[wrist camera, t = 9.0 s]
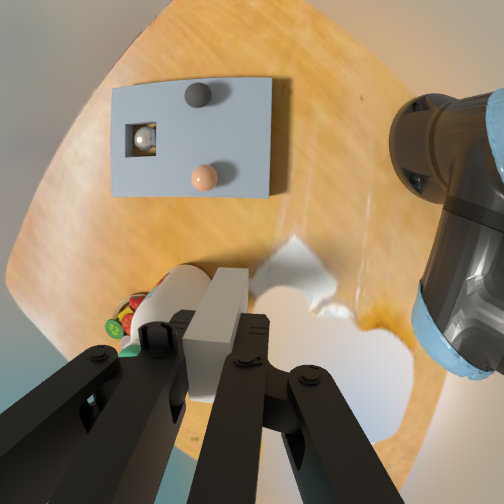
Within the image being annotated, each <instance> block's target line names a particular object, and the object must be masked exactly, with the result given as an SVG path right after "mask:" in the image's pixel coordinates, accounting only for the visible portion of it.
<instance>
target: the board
mask: <svg viewBox="0 0 504 504" xmlns="http://www.w3.org/2000/svg"><path fill="white" fill-rule="evenodd" d="M197 82H200V83H204V84H206V85H207V86H208V87H209V88H210V90H211V93H212V96H211V100H210V102H209V103H208V104H207V105H206V106H204V107H202V108H193V107H191V106H189V105H188V104H187V103H186V101H185V98H184V94H185V91H186V89H187V87H188V86H190V85H191V84H193V83H197ZM271 119H272V78H267V77H232V78H205V79H189V80H177V81H166V82H157V83H149V84H141V85H134V86H127V87H121V88H114V89H112V105H111V192H112V197H229V198H261V199H269V188H270V156H271ZM155 123H156V156H145V157H133V125H143V124H155ZM203 164H206V165H210V166H212V167H213V168H215V170H216V171H217V173H218V182H217V184H216V186H215V187H214V188H213V189H211V190H209V191H200V190H198V189H196V188H195V187H194V186H193V184H192V182H191V175H192V172H193V170H194V169H195V168H196V167H198V166H200V165H203Z"/></svg>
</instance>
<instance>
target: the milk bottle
mask: <svg viewBox="0 0 504 504" xmlns="http://www.w3.org/2000/svg"><path fill="white" fill-rule="evenodd" d="M210 283H211V279H210V278H209V276H208V275H207V274H206V273H205V272H204V271H203V270H201V269H200V268H198V267H196V266H192V265H179V266H176V267H174V268H172V269H171V270H169V271H168V272H167V273H166V274H165V276H164V277H163V278H162V279H161V280H160V281H159V282H158V283H157V285H156V286H155V287H154V288H153V289H152V290H151V292H150V293H149V294H148V295H147V296H146V297H145V299H144V300H143V301H142V303H141V304H140V305H139V307H138V308H137V310H136V312H135V314H134V316H133V319H132V322H131V339H130V343H128V344H126V345H125V347H124V348H123V350H122V351H121V352H120V353H119V355H118V357H129V356H137V355H138V354H139V352H140V351H141V346H140V340H139V334H138V328H139V327H140V326H142V325H144V324H146V323H149V322H154V321H163V322H169V321H170V319H171V318H172V316H173V314H175V313H177V312H178V311H180V310H181V309H184V310H197V308H198V306H199V304H200V302H201V300H202V299H203V297H204V295H205V293H206V291H207V289H208V287H209V285H210Z"/></svg>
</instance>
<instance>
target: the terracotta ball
mask: <svg viewBox="0 0 504 504" xmlns="http://www.w3.org/2000/svg"><path fill="white" fill-rule="evenodd" d="M191 182H192V184H193V186H194V187H195V188H196V189H198V190H200V191H209V190H211V189H213V188H214V187H215V186H216V184H217V182H218V173H217V171H216V170H215V168H213V167H212V166H210V165H206V164H203V165H200V166H198V167H196V168H195V169H194V170H193V172H192V175H191Z"/></svg>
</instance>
